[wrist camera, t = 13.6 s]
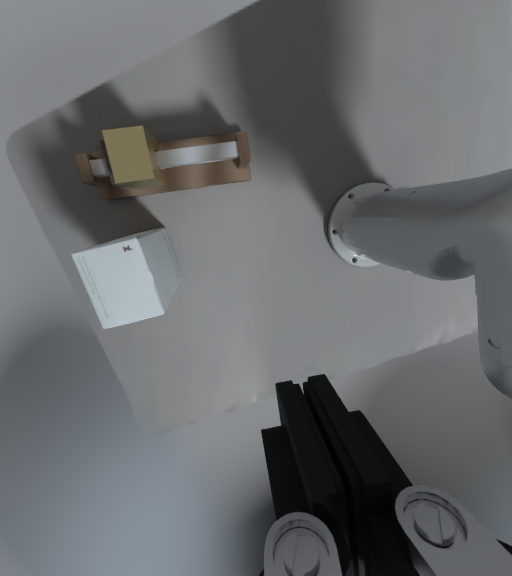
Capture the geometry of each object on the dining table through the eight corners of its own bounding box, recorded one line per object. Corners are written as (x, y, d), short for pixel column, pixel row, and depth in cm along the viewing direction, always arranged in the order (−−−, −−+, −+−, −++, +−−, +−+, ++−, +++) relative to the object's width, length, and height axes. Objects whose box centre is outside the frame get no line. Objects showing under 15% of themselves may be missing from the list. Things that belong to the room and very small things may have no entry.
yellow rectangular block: (158, 142, 35) (142, 125, 28) (167, 185, 36) (154, 178, 30) (125, 146, 35) (101, 130, 28) (135, 189, 36) (115, 183, 29)
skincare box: (123, 236, 41) (64, 249, 26) (168, 225, 41) (137, 232, 26) (142, 291, 43) (99, 332, 28) (185, 280, 43) (165, 315, 28)
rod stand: (243, 134, 39) (248, 114, 31) (250, 180, 41) (256, 172, 33) (95, 153, 38) (61, 137, 30) (107, 200, 39) (78, 196, 31)
